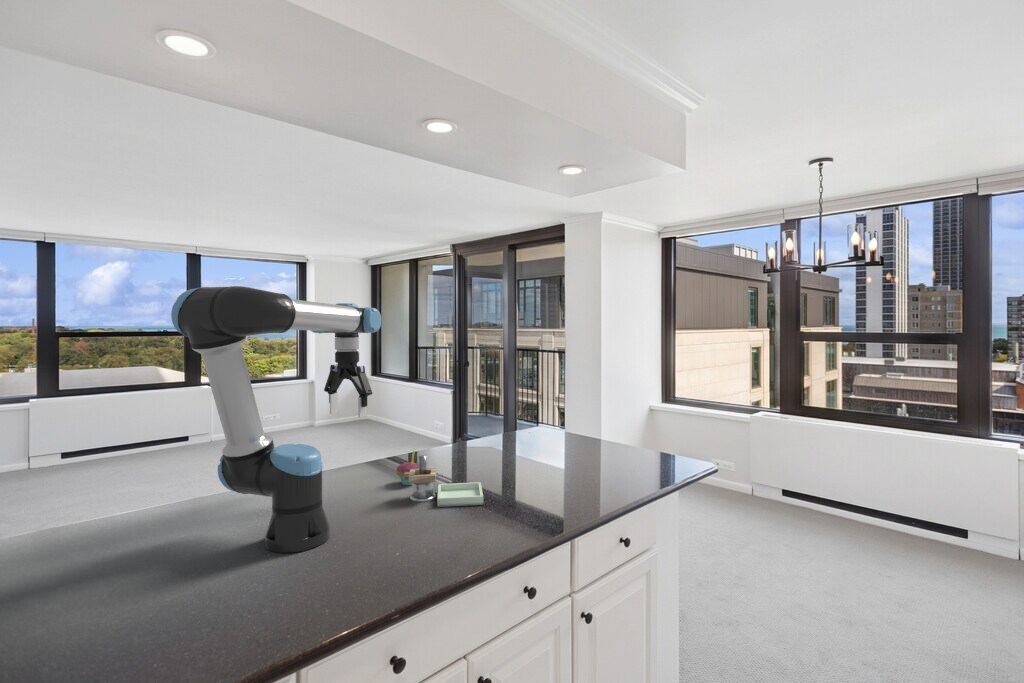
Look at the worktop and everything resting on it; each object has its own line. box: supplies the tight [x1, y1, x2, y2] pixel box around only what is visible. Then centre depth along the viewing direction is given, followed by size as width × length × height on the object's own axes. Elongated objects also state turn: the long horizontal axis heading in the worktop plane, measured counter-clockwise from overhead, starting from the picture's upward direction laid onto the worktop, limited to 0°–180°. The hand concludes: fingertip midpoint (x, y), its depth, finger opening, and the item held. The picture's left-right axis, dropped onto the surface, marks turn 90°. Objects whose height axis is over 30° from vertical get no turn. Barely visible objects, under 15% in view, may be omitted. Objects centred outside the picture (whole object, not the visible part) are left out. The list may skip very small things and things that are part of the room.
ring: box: [404, 467, 437, 483], centre depth 157 cm, size 8×10×2 cm
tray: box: [436, 481, 484, 508], centre depth 157 cm, size 14×14×2 cm
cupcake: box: [395, 448, 419, 486], centre depth 172 cm, size 9×8×12 cm
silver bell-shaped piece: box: [409, 454, 437, 503], centre depth 157 cm, size 8×8×13 cm
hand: (347, 415), depth 166 cm, fingers open, 13 cm apart
